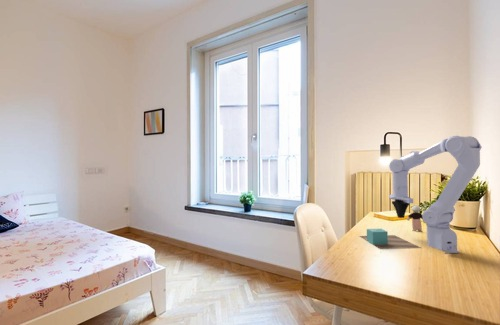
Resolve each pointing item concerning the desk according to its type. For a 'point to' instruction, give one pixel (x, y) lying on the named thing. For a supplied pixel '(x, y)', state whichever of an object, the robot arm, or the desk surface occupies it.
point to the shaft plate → (394, 243)
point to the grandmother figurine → (416, 219)
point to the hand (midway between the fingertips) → (400, 217)
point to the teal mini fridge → (377, 236)
